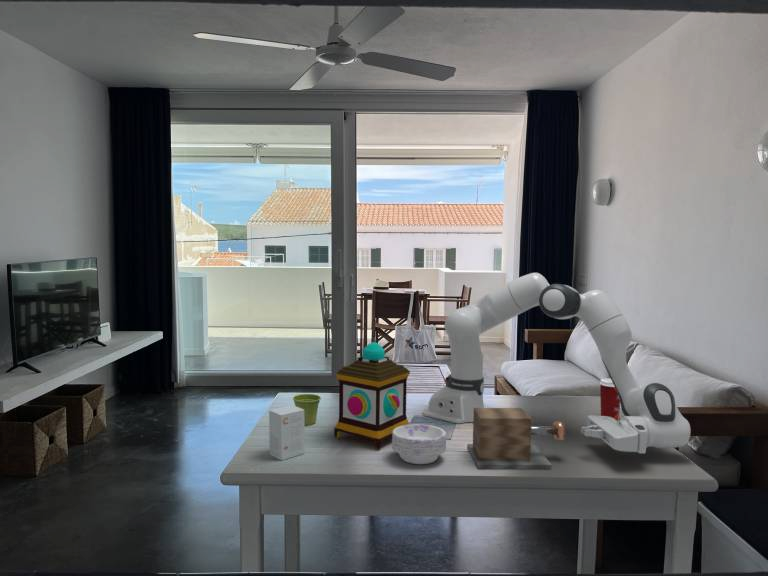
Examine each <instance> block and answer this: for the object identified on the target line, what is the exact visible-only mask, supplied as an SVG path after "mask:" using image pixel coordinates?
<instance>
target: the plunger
mask: <svg viewBox="0 0 768 576" xmlns="http://www.w3.org/2000/svg"><path fill="white" fill-rule="evenodd" d="M541 435H542V436H543V435H544V436H553V438H554V440H557V441H558V440H562V441H564V440H565V438H566V425H565V423H564V422H563V421H557V420H556V421H553V423H552V425H531V436H541Z"/></svg>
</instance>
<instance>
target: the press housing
mask: <svg viewBox="0 0 768 576" xmlns="http://www.w3.org/2000/svg"><path fill="white" fill-rule="evenodd" d="M472 426H473V427H472V443H467V447H466V448H467V450H468V452H469V454H470V456H471V458H472V460H473V462H474V464H475V466H476V468H477V469H478V470H552V467H553V465H552V463H551V462H550V461H549V460H548V458H546V456H545V455H544V454H543V452H542V451H541V450H540V449H539V448H538V446H536V444H535V443H532V442H531V441H532V435H531V426H532V417H530V415H529V414H528V413H527V411H525V410H524V409H523V408H522V407H484V408H474V416H473V422H472Z"/></svg>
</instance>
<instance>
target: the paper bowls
mask: <svg viewBox="0 0 768 576" xmlns="http://www.w3.org/2000/svg"><path fill="white" fill-rule="evenodd" d="M409 424H410V423H409ZM391 448H392V449H391V450H393V451H394V452H396V453H397V454H399V456H400V458H401V459H402V460H403V461H404V462H406V463H408V464H412V465H413V464H414V465H428V464H431V463H434V462H435V461H436V460H437V459H438V457H439V456H441V455H442V454H444V453H445V452H446V451H447V433H446V431H445V430H444V429H443V428H441V427H438V426H435V425H430V424H423V423H417V424H414V423H413V424H410V425H403V426H399V427H397V428H395V429H394V430H393V431H392V436H391Z"/></svg>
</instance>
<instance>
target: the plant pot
mask: <svg viewBox="0 0 768 576" xmlns="http://www.w3.org/2000/svg"><path fill="white" fill-rule="evenodd" d="M321 399H322V396H320V395H318V394H312V393H301V394H297V395H294V396H293V397H292V400H293V402H294V403H293V404H294V406H296V407H299V408H301V409H304V426H311V425H314V424H316V422H317V415H318V409H319V404H320V401H321Z"/></svg>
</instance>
